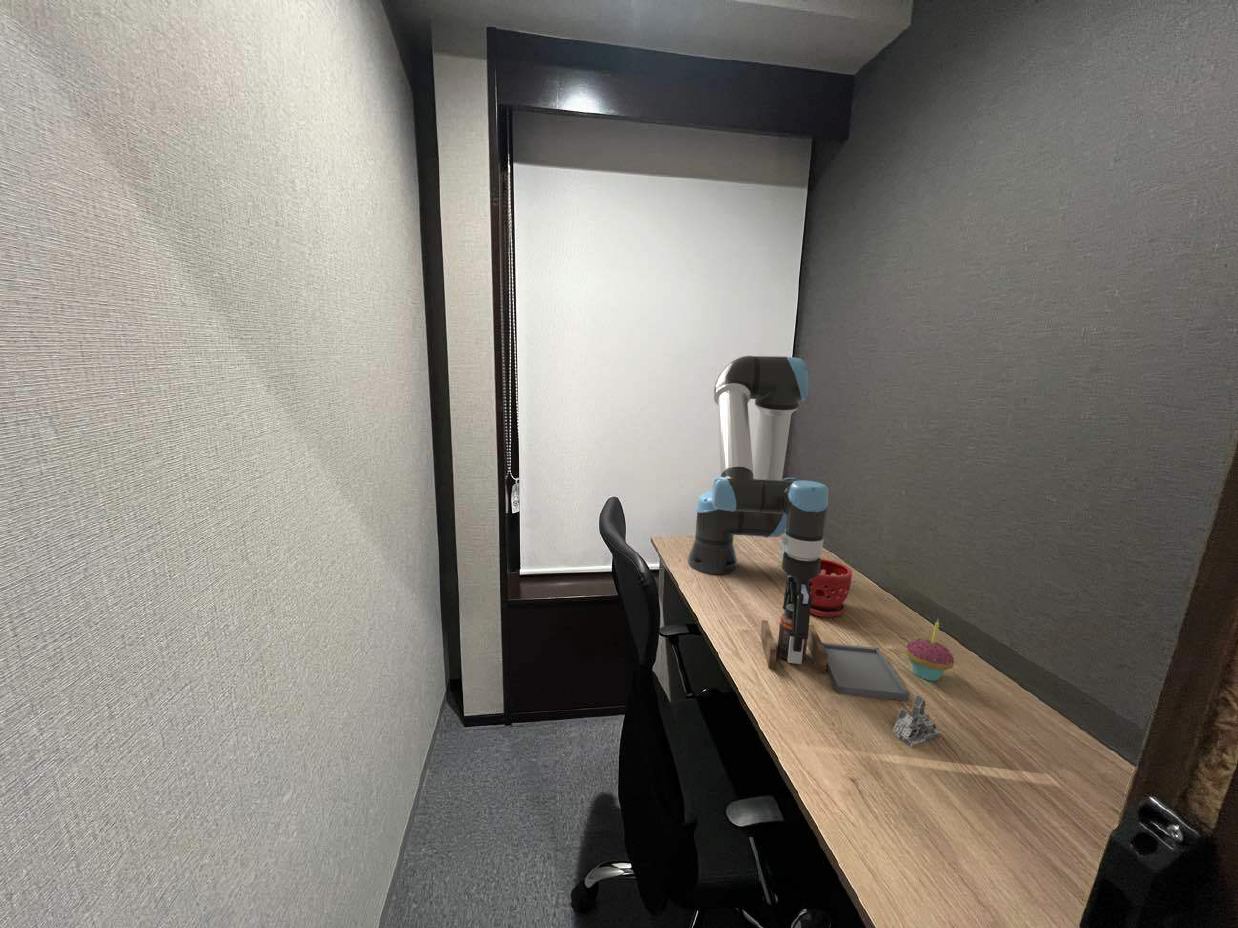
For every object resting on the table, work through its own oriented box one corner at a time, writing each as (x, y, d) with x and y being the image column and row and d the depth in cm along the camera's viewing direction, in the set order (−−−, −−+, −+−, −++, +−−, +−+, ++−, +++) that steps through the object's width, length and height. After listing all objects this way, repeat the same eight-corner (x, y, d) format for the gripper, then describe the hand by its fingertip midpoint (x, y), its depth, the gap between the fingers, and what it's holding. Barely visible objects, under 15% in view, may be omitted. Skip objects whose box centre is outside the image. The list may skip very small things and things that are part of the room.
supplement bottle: (807, 664, 106) (813, 616, 104) (778, 660, 108) (783, 612, 105) (803, 649, 112) (808, 603, 110) (775, 645, 113) (780, 599, 111)
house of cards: (903, 705, 95) (909, 669, 94) (947, 736, 87) (954, 698, 86) (867, 715, 92) (873, 678, 90) (909, 749, 84) (916, 709, 82)
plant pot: (858, 616, 128) (864, 573, 126) (817, 624, 123) (822, 579, 121) (821, 594, 140) (826, 554, 138) (783, 600, 135) (787, 559, 133)
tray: (817, 647, 113) (817, 641, 113) (877, 653, 111) (878, 647, 111) (837, 693, 97) (838, 686, 97) (908, 700, 96) (909, 693, 95)
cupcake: (910, 657, 110) (918, 607, 108) (955, 675, 104) (964, 622, 102) (897, 673, 104) (906, 621, 102) (944, 693, 98) (954, 637, 96)
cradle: (760, 637, 116) (762, 620, 115) (811, 642, 115) (813, 624, 114) (768, 668, 105) (770, 648, 104) (825, 674, 103) (827, 654, 102)
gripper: (775, 537, 115) (766, 629, 120) (792, 571, 96) (781, 677, 101) (809, 540, 114) (799, 632, 119) (833, 574, 95) (820, 682, 100)
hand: (791, 653), depth 110 cm, fingers open, 6 cm apart
